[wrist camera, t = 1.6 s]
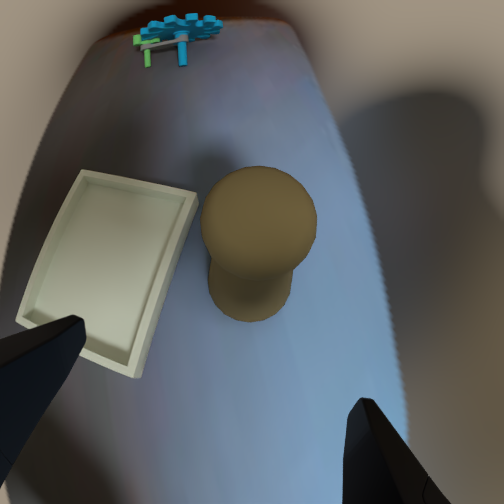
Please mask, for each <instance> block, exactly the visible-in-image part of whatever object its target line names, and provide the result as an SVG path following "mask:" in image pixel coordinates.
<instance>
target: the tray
mask: <svg viewBox="0 0 504 504" xmlns="http://www.w3.org/2000/svg"><path fill="white" fill-rule="evenodd" d="M198 206H199V202H198V197H197V193H196V192H192V191H187V190H183V189H178V188H174V187H169V186H164V185H160V184H155V183H150V182H145V181H141V180H136V179H131V178H126V177H121V176H116V175H110V174H105V173H100V172H95V171H89V170H84V169H82V170H81V171H80V173H79V175H78V176H77V178H76V180H75V182H74V184H73V185H72V187H71V189H70V191H69V193H68V195H67V197H66V199H65V200H64V202H63V204H62V206H61V208H60V210H59V212H58V214H57V216H56V218H55V221H54V223H53V225H52V227H51V229H50V231H49V233H48V236H47V238H46V240H45V242H44V245H43V247H42V249H41V252H40V254H39V256H38V259H37V261H36V264H35V266H34V269H33V271H32V274H31V276H30V279H29V282H28V285H27V287H26V290H25V293H24V296H23V299H22V302H21V305H20V308H19V311H18V314H17V317H16V322H17V323H19V324H21V325H23V326H24V327H26V328H28V329H31V328H34V327H37V326H40V325H43V324H46V323H49V322H51V321H54V320H57V319H60V318H63V317H66V316H69V315H72V314H74V315H77V316H79V317H81V318H83V319H84V321H85V328H86V336H87V338H86V343H85V345H84V347H83V349H82V350H81V352H80V354H79V355H80V356H82V357H84V358H86V359H89V360H91V361H93V362H95V363H98V364H100V365H102V366H104V367H107V368H109V369H111V370H114V371H116V372H119V373H121V374H124V375H126V376H129V377H131V378H141V376H142V372H143V369H144V366H145V362H146V359H147V355H148V352H149V349H150V345H151V342H152V339H153V335H154V332H155V329H156V326H157V323H158V319H159V316H160V313H161V310H162V307H163V304H164V301H165V298H166V295H167V292H168V289H169V286H170V283H171V280H172V277H173V274H174V271H175V268H176V266H177V263H178V260H179V257H180V254H181V251H182V249H183V246H184V243H185V240H186V238H187V235H188V232H189V230H190V227H191V224H192V222H193V219H194V216H195V214H196V211H197V208H198Z"/></svg>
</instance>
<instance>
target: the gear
mask: <svg viewBox="0 0 504 504" xmlns="http://www.w3.org/2000/svg"><path fill="white" fill-rule="evenodd" d="M221 28H223V22H222V21H220V20H215V16H209V15H208V16H204V20H201V21H198V14H197V13H195V14H187V15H186V20H181V19H178V18H177V17H176V16H174V15H171V16H168V17H165V18H164V22H158V21H152V22H150V23H149V24H148V28H142V29H141V35H135V36H133V46H140V45H141V46H140V48H141V52H144V58H145V68H148V67H151V60H150V51H153V50H157V49H162V48H167V47H172V46H177V45H178V60H179V66H180V67H182V66H187V50H186V44H187V43H188V42H193V41H195V38H201V39H207V38H209V37H210V34H219V33H220V29H221ZM141 37H142V40H141ZM166 39H167V40H168V41H165V42H162V40H166Z"/></svg>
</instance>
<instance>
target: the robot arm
mask: <svg viewBox="0 0 504 504" xmlns="http://www.w3.org/2000/svg"><path fill="white" fill-rule="evenodd" d="M86 338H87V336H86V328H85V321H84V319H83V318H81V317H79V316H77V315H74V314H72V315H69V316H66V317H63V318H60V319H57V320H54V321H51V322H49V323H46V324H43V325H40V326H37V327H34V328H31V329H28V330H25V331H22V332H19V333H17V334H14V335H11V336H8V337H5V338H2V339H0V488H1V486H2V484H3V482H4V480H5V478H6V477H7V475H8V473H9V471H10V469H11V468H12V465H13V464H14V462H15V460H16V458H17V457H18V455H19V453H20V451H21V450H22V448H23V446H24V445H25V443H26V441H27V440H28V438H29V436H30V435H31V433H32V431H33V430H34V428H35V426H36V425H37V423H38V422H39V420H40V418H41V417H42V415H43V414H44V412H45V410H46V409H47V407H48V406H49V404H50V403H51V401H52V400H53V398H54V396H55V395H56V393H57V392H58V390H59V389H60V387H61V386H62V384H63V383H64V381H65V380H66V378H67V377H68V375H69V373H70V371H71V369H72V367H73V365H74V363H75V362H76V360H77V358H78V356H79V354H80V352H81V350H82V349H83V347H84V345H85V343H86ZM342 504H451V503H450V502H449V501H448V499H447V498H446V497H445V496H444V495H443V494H442V492H441V491H440V490H439V488H438V487H437V486H436V484H435V483H434V482H433V481H432V479H431V478H430V476H428V474H427V472H426V471H425V469H424V468H423V467H422V465H421V464H420V463H419V461H418V460H417V458H416V457H415V456H414V454H413V453H412V452H411V450H410V449H409V447H408V446H407V445H406V443H405V442H404V441H403V439H402V438H401V437H400V435H399V434H398V432H397V431H396V430H395V428H394V427H393V426H392V424H391V423H390V422H389V420H388V419H387V417H386V416H385V415H384V413H383V412H382V411H381V409H380V408H379V407H378V405H377V404H376V403H375V401H374V400H373V399H370V398H363V397H362V398H360V399H359V400H358V401H357V402H356V404H355V405H354V407H353V408H352V410H351V411H350V413H349V415H348V418H347V428H346V438H345V447H344V456H343V497H342Z"/></svg>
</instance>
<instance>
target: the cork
mask: <svg viewBox="0 0 504 504" xmlns="http://www.w3.org/2000/svg"><path fill="white" fill-rule="evenodd" d="M200 223H201V232H202V238H203V241H204V243H205V245H206V247H207V249H208V251H209V253H210V255H211V257H212V258H211V264H210V270H209V276H208V285H209V293H210V295H211V297H212V299H213V301H214V303H215V305H216V306H217V307H218V308H219V309H220V310H221V311H222V312H223V313H224V314H225V315H227V316H229V317H231V318H233V319H235V320H238V321H245V322H256V321H262V320H265V319H267V318H269V317H271V316H273V315H275V314H276V313H277V312H278V311H279V310H280V309H281V308H282V307H283V306H284V305H285V302H286V300H287V298H288V296H289V294H290V289H291V282H292V275H293V270H294V269H295V268H296V267H297V266H298V265H299V264H300V263H301V262H302V261H303V260H304V259H305V258H306V256H307V255H308V253H309V251H310V249H311V247H312V244H313V242H314V240H315V238H316V227H317V214H316V210H315V207H314V203H313V200H312V198H311V197H310V196H309V194H308V193H307V191H306V190H305V188H304V187H303V186H302V184H301V183H299V182H298V181H297V180H296V179H294V178H293V177H292V176H291V175H289V174H287V173H285V172H283V171H281V170H278V169H276V168H271V167H265V166H252V167H244V168H241V169H239V170H236V171H234V172H231V173H229V174H228V175H226V176H225V177H224V178H222V179H221V180H220V181H218V182H217V183H216V184H215V185H214V186H213V188H212V189H211V191H210V192H209V194H208V195H207V196H206V199H205V202H204V205H203V209H202V213H201V217H200Z"/></svg>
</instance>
